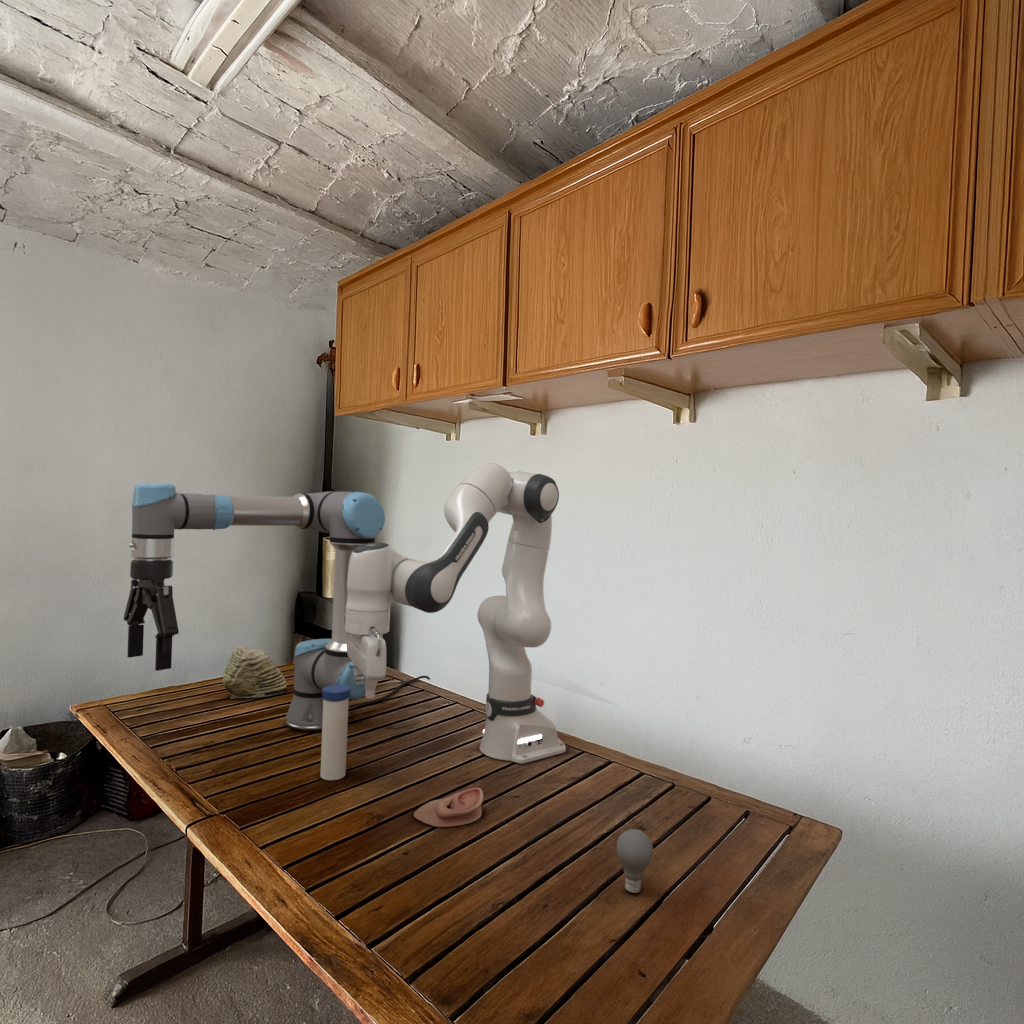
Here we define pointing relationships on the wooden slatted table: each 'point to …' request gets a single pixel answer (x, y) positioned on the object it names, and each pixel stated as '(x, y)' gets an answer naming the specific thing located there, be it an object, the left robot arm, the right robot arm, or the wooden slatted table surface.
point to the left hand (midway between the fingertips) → (148, 662)
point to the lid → (336, 692)
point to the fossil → (252, 674)
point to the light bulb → (634, 857)
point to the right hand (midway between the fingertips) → (364, 690)
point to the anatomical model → (452, 809)
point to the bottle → (334, 739)
